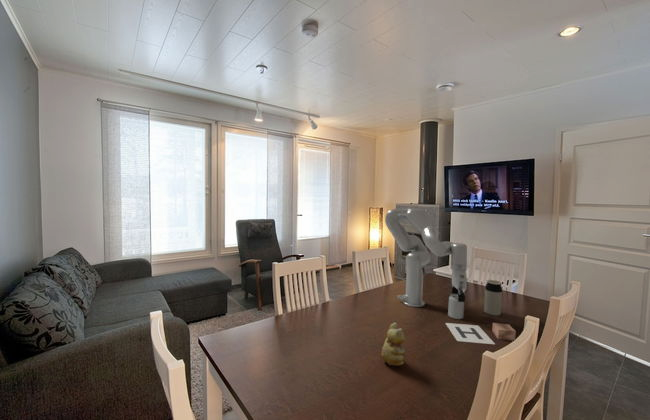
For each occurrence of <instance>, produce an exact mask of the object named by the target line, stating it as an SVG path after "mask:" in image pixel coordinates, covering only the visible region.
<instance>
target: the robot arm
mask: <svg viewBox="0 0 650 420" xmlns="http://www.w3.org/2000/svg"><path fill="white" fill-rule="evenodd" d="M427 218H428V213H427V212H426V211H425V210H424V209H422V208H392V209H389V210H388V211H387V213H386V214H385V218H384V220H385V221H384V222H385V226H386V227H387V230H388V231H389V232H390V233H391V235H392V236H393V238H394V241H395V242H396V243H397V245H398V247H399V248H400V250H401V251H403V252H409V253H408V254H406V256H405V267H406V275H405V277H406V279H405V293H404V294H403V295H401V294H398V295H397V299H400V300H402V303H403V304H404V305H405V306H409V307H413V308H422V307H424V306H425V301H424V300H423V285H424V272H423V271H424V270H423V268H422V267H423V266H425V265H428V264H430V262H431V258H432V257H431V254H430V252H431V253H432V254H433V255H434V256H436V257H441V258H442V257H446V256H449V255H450V258H451V259H450V269H451V294H458V301H459V302H464V303H465V302H466V290H468V280H467V279H468V278H467V272H466V271H467V268H468V264H467V263H468V262H467V261H468V246H467V244H465V243H461V242H454V241H453V242H452V241H449V240H447V241H446V240H445V241H440V240H439V239H438V238H437V237H436V236H435V234H434V232H433V229H434V225H433V224H432V223H431V221H429V220H428V219H427ZM402 222H403V223H404V222H407V223H408V222H409V223H410V225H412V226H413V227H414V228H415V230H416V231H417V232H418V233H419V235H421V238H422V239H420V237H419V236H417V235H415V234H409V233H408V232H407V230H406V228H405V227H404V226H403V225H402V224H401V223H402ZM422 241H423V242H422ZM428 249H429V250H430V252H429V251H428Z"/></svg>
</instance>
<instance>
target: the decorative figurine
mask: <svg viewBox="0 0 650 420" xmlns="http://www.w3.org/2000/svg"><path fill="white" fill-rule="evenodd" d="M405 340H406V338H405V334H404V333H403V329H402V328H398V324H397V322H393V323H391V324H390V325H389V327H388V330H387V332H386V338H385V340H384V342H383V346H382V348H381V360H382V361H384V362H385V363H387V364H388V366H394V367H395V366H396V367H398V366H403V365H404V355H405V353H406V350H405V348H403V347H402V344H403V343H404V342H405Z"/></svg>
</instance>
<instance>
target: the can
mask: <svg viewBox="0 0 650 420" xmlns="http://www.w3.org/2000/svg"><path fill="white" fill-rule="evenodd" d="M458 294H459V293H458ZM458 294H452V293H450V296H449V297H448V306H447V307H448V308H447V310H448V312H447V316H448V317H450V318H451V319H454V320H461V319H462V320H463V319H464V315H465V314H464V312H465V307H464V306H465V302H459V301H458Z"/></svg>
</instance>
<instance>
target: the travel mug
mask: <svg viewBox="0 0 650 420" xmlns="http://www.w3.org/2000/svg"><path fill="white" fill-rule="evenodd" d="M502 284H503V282H502V281H499V280H495V279H487V280H486V284H485V289H484V290H485V291H484V294H485V295H484V304H483V305H484V306H483V307H484V308H483V311H484V312H485V314H488V315H490V316H495V317H496V316H500V315H501V312H502V300H503V299H502V297H503V287H502Z"/></svg>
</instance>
